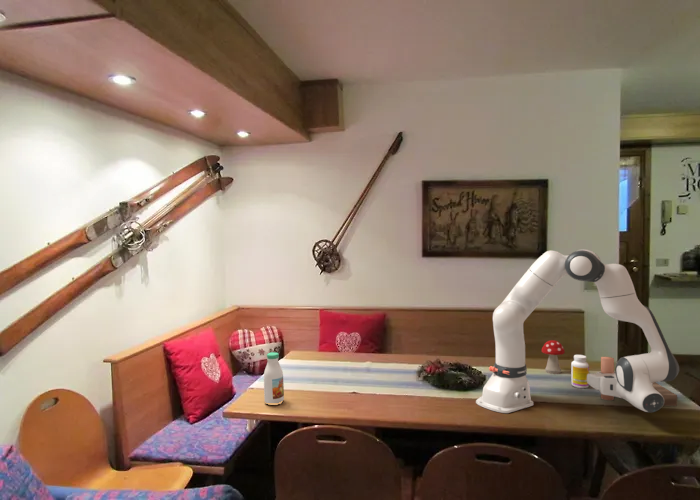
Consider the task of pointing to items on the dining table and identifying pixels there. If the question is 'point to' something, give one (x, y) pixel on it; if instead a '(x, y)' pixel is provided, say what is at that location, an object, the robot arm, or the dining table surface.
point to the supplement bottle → (579, 372)
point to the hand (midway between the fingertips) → (606, 373)
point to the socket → (666, 395)
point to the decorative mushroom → (553, 356)
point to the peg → (607, 367)
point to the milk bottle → (273, 380)
